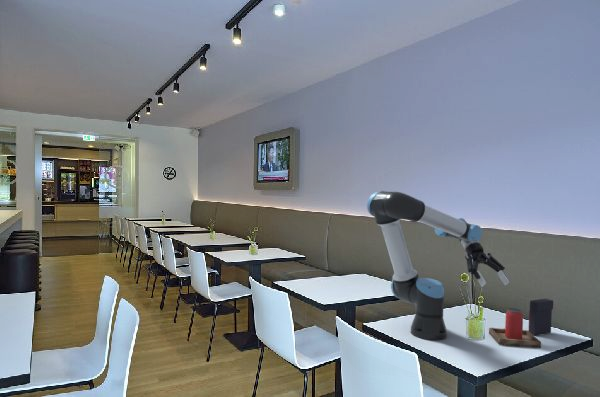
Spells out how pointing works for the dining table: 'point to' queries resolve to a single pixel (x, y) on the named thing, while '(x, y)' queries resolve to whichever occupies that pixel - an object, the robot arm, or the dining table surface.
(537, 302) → the dark grey upright block
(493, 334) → the walnut tray
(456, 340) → the dining table surface
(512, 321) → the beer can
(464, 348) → the dining table surface
